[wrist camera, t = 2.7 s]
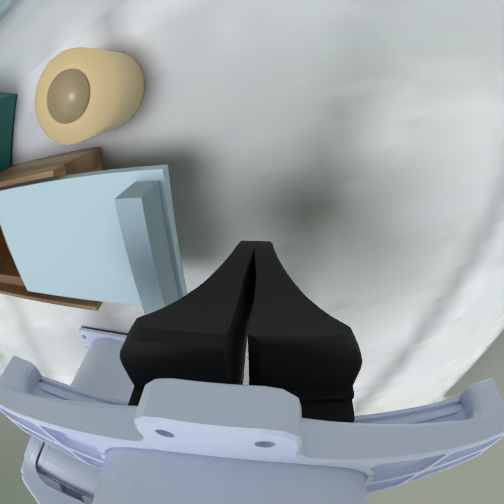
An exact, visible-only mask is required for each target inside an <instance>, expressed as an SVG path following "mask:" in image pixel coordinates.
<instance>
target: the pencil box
mask: <svg viewBox="0 0 504 504" xmlns="http://www.w3.org/2000/svg"><path fill="white" fill-rule="evenodd" d="M102 170H103V165H102V159H101V152H100V147H96V148H90V149H84V150H79V151H74V152H69V153H64V154H59V155H55V156H50V157H46V158H42V159H38V160H34V161H30V162H26V163H22V164H19V165H15V166H11V167H10V168H8V169H6V170H4V171H2V172H1V173H0V188H2V187H7V186H11V185H16V184H21V183H26V182H31V181H36V180H42V179H47V178H53V177H59V176H66V175H72V174H79V173H86V172H94V171H102ZM0 293H1V294H6V295H11V296H15V297H20V298H25V299H30V300H35V301H40V302H46V303H51V304H57V305H63V306H69V307H76V308H82V309H89V310H96V311H98V309H99V308H100V306H101V304H102V303H103V302H101V301H92V300H85V299H77V298H70V297H63V296H56V295H50V294H43V293H37V292H31V291H27V289H26V287H25V284H24V282H23V280H22V278H21V276H20V274H19V271H18V269H17V267H16V264H15V262H14V260H13V257H12V255H11V252H10V250H9V247H8V244H7V242H6V239H5V236H4V234H3V231H2V228H1V225H0Z"/></svg>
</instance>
